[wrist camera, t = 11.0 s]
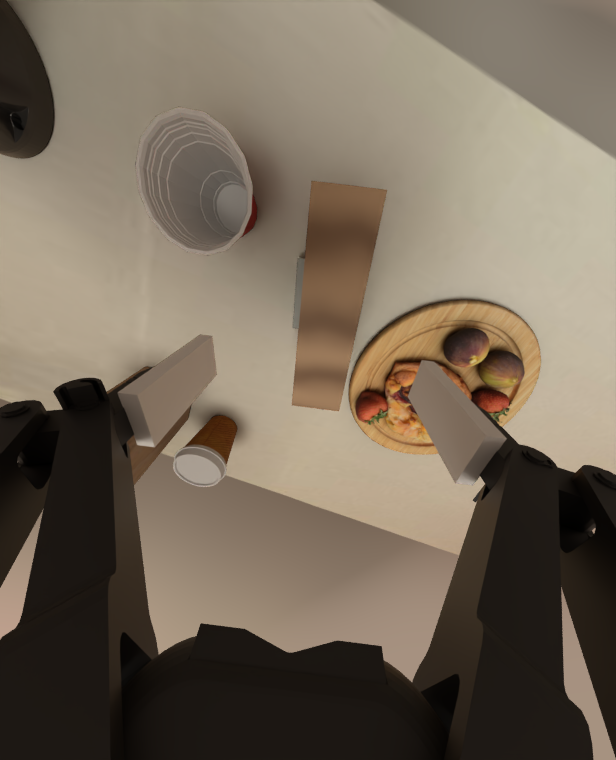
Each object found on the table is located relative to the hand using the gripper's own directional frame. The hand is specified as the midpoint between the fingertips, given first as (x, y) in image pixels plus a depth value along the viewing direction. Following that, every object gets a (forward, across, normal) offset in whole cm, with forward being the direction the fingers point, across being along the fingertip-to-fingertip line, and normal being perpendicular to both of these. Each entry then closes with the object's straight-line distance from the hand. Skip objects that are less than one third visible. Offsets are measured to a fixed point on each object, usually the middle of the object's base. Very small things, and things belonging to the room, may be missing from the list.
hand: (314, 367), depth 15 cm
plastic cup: (+25, -13, +10) cm, 30 cm away
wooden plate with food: (+25, +23, -14) cm, 37 cm away
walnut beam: (+18, +1, 0) cm, 18 cm away
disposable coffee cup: (+25, -18, -30) cm, 43 cm away
